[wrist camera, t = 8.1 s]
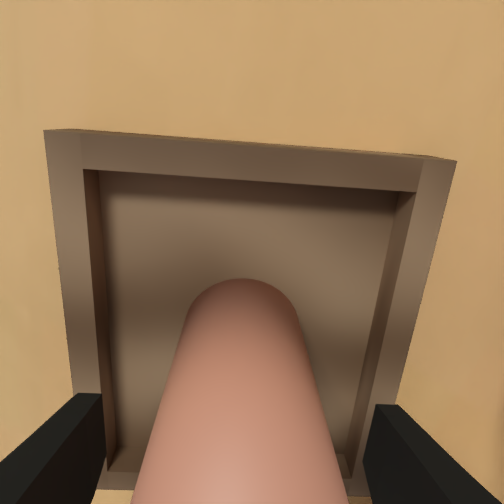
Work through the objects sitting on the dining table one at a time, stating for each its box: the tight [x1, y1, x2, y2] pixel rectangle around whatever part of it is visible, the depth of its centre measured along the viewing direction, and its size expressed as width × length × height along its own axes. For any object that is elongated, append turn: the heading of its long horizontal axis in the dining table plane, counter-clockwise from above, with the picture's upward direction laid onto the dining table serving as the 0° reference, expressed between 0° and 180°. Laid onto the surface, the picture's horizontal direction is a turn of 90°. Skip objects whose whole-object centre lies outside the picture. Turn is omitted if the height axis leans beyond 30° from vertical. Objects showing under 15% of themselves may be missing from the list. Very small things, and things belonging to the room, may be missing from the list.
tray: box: [43, 129, 457, 497], centre depth 14 cm, size 14×12×2 cm
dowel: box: [130, 278, 349, 504], centre depth 10 cm, size 4×4×9 cm
